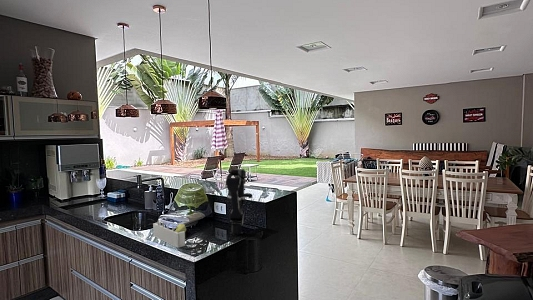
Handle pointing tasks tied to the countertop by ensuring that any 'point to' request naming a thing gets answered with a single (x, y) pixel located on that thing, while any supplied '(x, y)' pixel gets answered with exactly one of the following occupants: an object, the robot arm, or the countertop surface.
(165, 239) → the rack
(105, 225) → the countertop surface
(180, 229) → the banana
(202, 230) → the countertop surface
